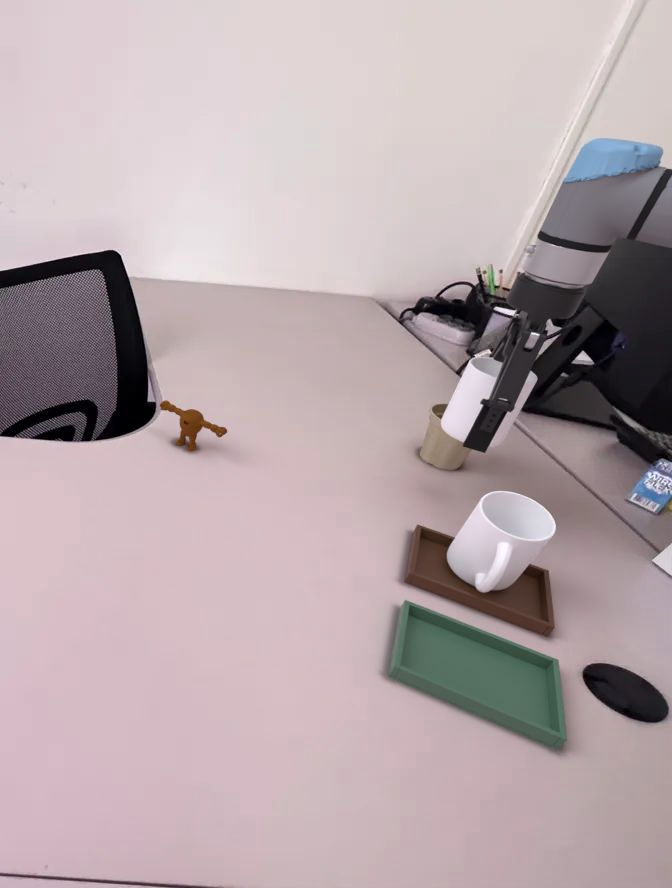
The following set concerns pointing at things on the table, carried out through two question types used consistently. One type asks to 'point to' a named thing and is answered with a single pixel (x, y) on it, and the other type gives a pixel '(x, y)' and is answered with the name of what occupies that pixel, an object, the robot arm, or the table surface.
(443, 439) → the flower pot
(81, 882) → the table surface
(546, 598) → the walnut tray
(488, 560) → the mug
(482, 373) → the cup
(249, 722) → the table surface
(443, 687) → the green tray
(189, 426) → the toy figurine
